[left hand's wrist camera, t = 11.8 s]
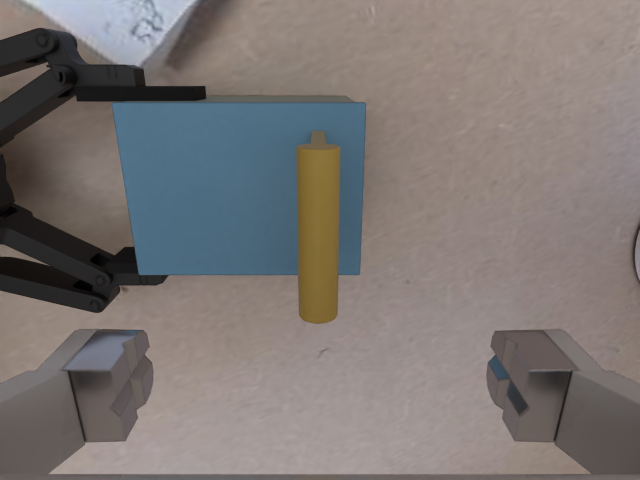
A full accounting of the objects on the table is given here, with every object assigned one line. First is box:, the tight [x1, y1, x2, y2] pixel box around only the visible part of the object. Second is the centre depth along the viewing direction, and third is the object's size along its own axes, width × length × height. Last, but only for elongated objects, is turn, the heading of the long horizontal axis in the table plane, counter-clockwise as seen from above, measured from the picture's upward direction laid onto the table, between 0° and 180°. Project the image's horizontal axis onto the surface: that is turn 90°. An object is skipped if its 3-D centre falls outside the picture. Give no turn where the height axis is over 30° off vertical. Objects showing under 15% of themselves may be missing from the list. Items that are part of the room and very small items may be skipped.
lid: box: [112, 102, 366, 323], centre depth 21 cm, size 13×10×8 cm
